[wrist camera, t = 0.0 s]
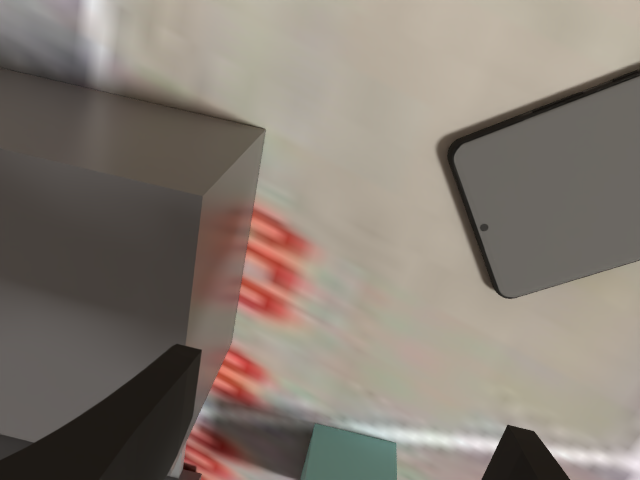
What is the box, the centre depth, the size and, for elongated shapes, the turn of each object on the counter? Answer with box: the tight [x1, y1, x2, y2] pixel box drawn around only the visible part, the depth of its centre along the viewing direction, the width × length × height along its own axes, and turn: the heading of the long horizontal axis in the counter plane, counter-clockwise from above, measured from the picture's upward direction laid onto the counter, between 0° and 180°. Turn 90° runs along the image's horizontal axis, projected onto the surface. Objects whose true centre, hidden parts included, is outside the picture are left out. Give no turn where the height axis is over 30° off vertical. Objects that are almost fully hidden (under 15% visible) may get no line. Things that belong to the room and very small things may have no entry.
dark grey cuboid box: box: [0, 68, 266, 476], centre depth 19 cm, size 10×13×8 cm
